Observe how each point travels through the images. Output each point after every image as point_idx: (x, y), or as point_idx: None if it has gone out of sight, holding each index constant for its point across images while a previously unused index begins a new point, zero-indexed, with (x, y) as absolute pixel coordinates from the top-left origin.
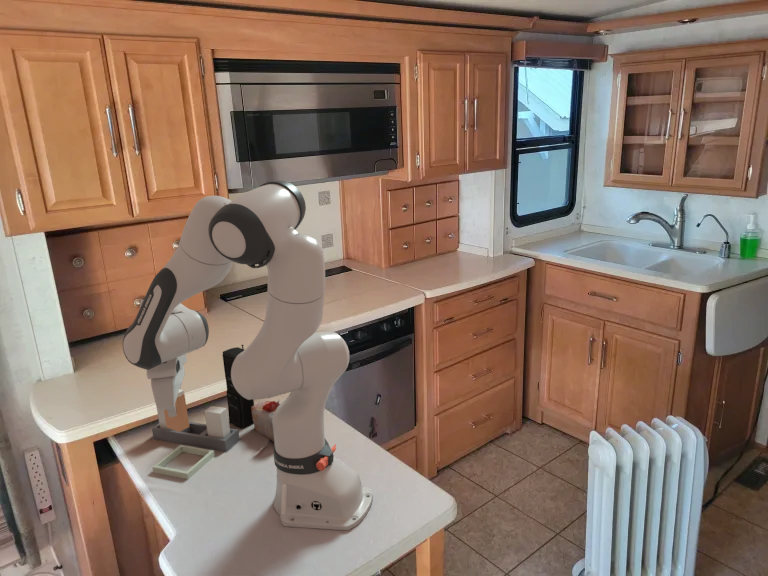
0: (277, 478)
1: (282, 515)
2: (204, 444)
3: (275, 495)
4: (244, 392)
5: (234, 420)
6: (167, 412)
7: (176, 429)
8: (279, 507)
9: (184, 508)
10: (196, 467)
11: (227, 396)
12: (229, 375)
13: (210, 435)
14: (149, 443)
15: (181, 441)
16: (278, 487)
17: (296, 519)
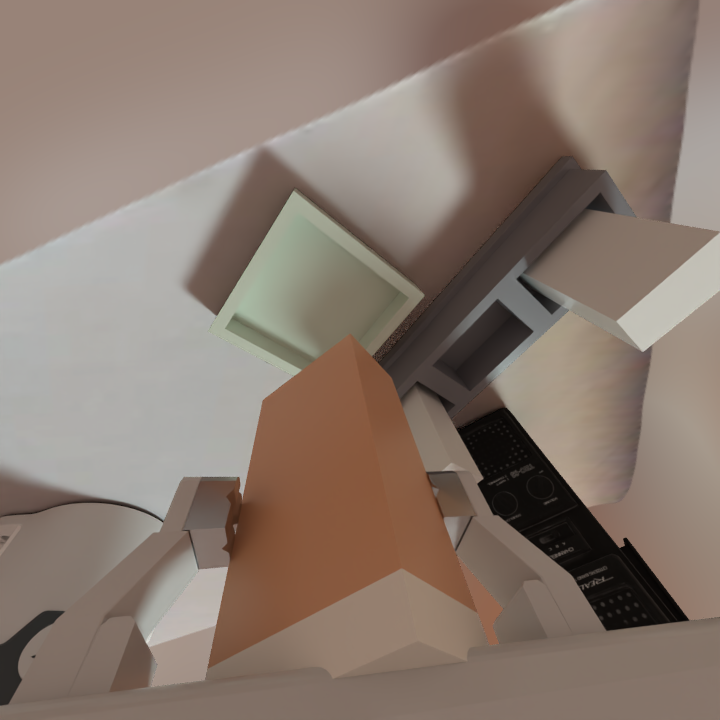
0: (20, 595)
1: (14, 527)
2: (399, 364)
3: (74, 526)
4: None
5: (489, 434)
6: (329, 425)
7: (278, 393)
8: (28, 530)
9: (63, 311)
10: (254, 352)
11: (557, 486)
12: (607, 593)
13: (410, 397)
14: (556, 148)
15: (465, 289)
16: (12, 579)
17: (2, 545)
